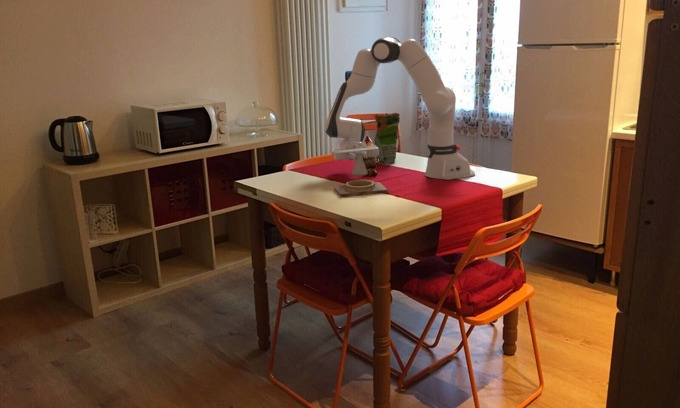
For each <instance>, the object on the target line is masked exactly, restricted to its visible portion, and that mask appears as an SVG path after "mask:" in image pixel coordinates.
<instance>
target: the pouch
mask: <svg viewBox="0 0 680 408" xmlns="http://www.w3.org/2000/svg"><path fill="white" fill-rule="evenodd" d="M373 118H375V119H374V120H375V122H376V132H375V136H374V141H373V142H374V145H375V146H377V147H378V148H379V155H378V159H379V161H378V162H382V163H384V164H387V165H388V164H394V163H395V162H396V159H397V150H398V148H397V140H398V131H399V123H400V113H397V112H393V113H389V114H388V113H387V112H386V113H385V114H380V115H379V114H375V115H374V116H373Z"/></svg>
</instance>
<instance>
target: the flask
mask: <svg viewBox="0 0 680 408" xmlns="http://www.w3.org/2000/svg"><path fill="white" fill-rule="evenodd" d="M362 153H363V152H361V151H358V152H356V154H357V159H356V160H355V161H354V166H353V168H352V172H351V175H352V176H366V175H368V174H369V173H368V170H367V168H366V165H365V162H364V158H362Z"/></svg>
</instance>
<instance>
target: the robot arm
mask: <svg viewBox="0 0 680 408" xmlns="http://www.w3.org/2000/svg"><path fill="white" fill-rule="evenodd" d="M425 50H426V49H424V47H423V46H422V45H421V44H420V43H419V42H418V41H417V40H416V39H415V38H408V39H405V40H404V41H402V42H401V41H400V40H399V39H397V38H396V37H391V36H384V37H381V38H378V39H376V40H375V41H374V43H372V46H371V48H362V49H360V50H359V51H358V52H357V54H356V57H355V59H354V63H353V66H352V69H351V74H350V76H349V77H348V79H347V80H346V81H345V82H342V84H341V85H340V88H339V90H338V91H337V94H336V97H335V100H334V102H333V105H332V108H331V110H330V112H329V115H328V116H327V119H326V121H325V125H324V133H325V134H326V136H328V137H329V138H336V139H339V138H340V140H339V141H338V149H334V150H333V152H331V155H332V156H333V157H334V160H335V161H341V160H344V161H345V160H350V161H351V162H353V161H354V162H356V159H357V154H356V152H358V151H361V152H363V153H362V158H363V159H365V158H370V157H371V158H373V157H376V156H378V155H379V148H378V147H377V146H375V144H372V143H371V145H372V146H371V147H367V148H366V146H365V145H366V142H367V141H364V138H365V134H366V128H365V127H366V126H365V125H364V122H363V121H362V120H361V119H357V118H353V117H352V118H350V117H344V116H341V113H342V110H343V108H344V106H345V103H346V101H347V100H348V99H350V98H351V97H355V96H359V95H363V94H366V93H368V92H369V91H371V90H372V88H373V87H374V85H375V81H376V77H377V73H378V68H379V67H380V65H381V64H391V63H393V62H396V61H399V62H401V64H402V65H403V66H404V69H406V71H407V73H408V75H409V76H410V78H411V79H412V81H413V83H414V85H415V86H416V88H417V91H418V92H419V95H420V97H421V99H422V100H423V102H424V104H425V107H426V109H427V111H428V112H429V120H428V121H429V123H428V132H427V133H428V135H427V136H428V139H427V141H428V143H427V147H426V148H427V149H426V155H427V162H426V163H427V164H426V169H425V173H424V176H425V177H427V178H431V179H440V180H445V181H447V180H455V179H461V178H468V177H473V176H475V175H476V172H475V171H474V170H473V169H471V165H470V162H469V160H468V159H467V158H465V157H464V156H463V155H462V154H460V153H459V152H458V151H461V149H462V146H461V145H457V144H454V128H455V127H454V126H455V117H456V116H455V115H456V101H457V100H456V98H457V97H456V94H455V92H454V91H453V90H452V88H450V87H448V86H445V84H444V82H443V80H442V78H441V76H440V74H439V70H438V69H437V67H436V66H435V64H434V63H433V61H432V59H431V58H430V56H429V55H428V53H427V51H425ZM364 147H365V148H364Z"/></svg>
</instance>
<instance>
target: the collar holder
mask: <svg viewBox="0 0 680 408" xmlns="http://www.w3.org/2000/svg"><path fill="white" fill-rule="evenodd" d="M333 190H334V192H335V193H336V194H337V195H338V197H339V198H340V199H342V198H350V197H352V198H353V197H361V196H372V195H382V194H388V189H387V188H386V187H385V185H383V184H382V183H381V182H378V181H375V182H374V181H373V180H369V179H353V180H349V181H346V183H345V184H343V185H334V186H333Z"/></svg>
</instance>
